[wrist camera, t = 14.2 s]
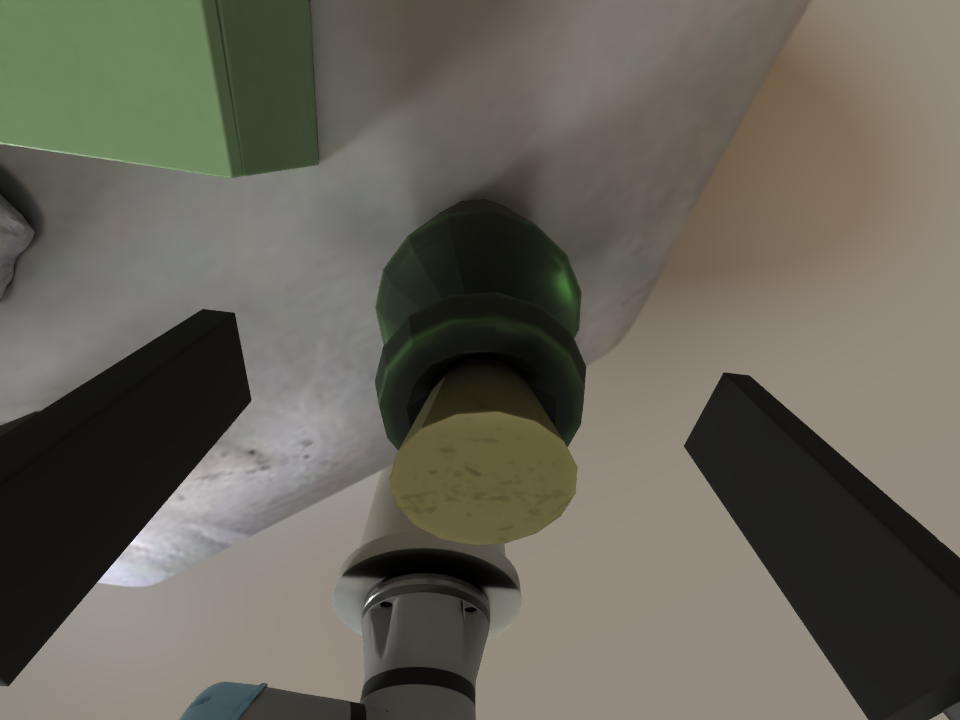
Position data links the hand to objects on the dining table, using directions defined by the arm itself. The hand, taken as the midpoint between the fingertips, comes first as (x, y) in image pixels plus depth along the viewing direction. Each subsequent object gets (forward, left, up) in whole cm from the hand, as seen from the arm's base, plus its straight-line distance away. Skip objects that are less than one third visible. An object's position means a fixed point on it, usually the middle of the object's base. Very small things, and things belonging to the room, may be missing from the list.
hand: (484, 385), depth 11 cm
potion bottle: (0, 0, -15) cm, 15 cm away
